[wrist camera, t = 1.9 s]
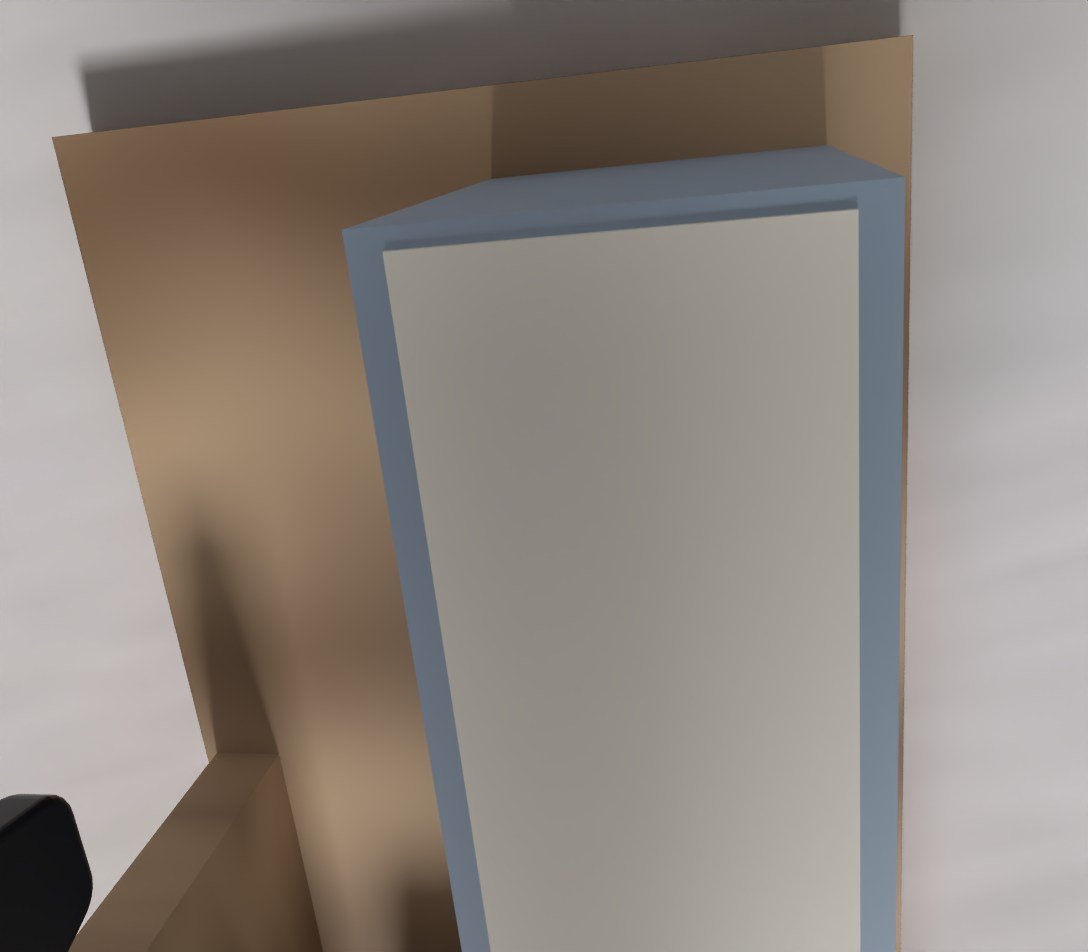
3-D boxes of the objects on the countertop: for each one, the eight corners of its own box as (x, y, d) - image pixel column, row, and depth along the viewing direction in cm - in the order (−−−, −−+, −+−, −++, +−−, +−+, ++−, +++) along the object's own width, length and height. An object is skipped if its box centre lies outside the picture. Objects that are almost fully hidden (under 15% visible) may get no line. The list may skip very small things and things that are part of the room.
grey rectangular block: (826, 144, 13) (907, 177, 8) (834, 714, 16) (896, 1046, 10) (490, 178, 14) (338, 231, 8) (553, 714, 17) (470, 1021, 11)
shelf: (889, 1093, 20) (955, 1478, 14) (310, 1054, 22) (173, 1376, 16) (899, 39, 14) (1025, -3, 8) (91, 135, 16) (-251, 153, 10)
